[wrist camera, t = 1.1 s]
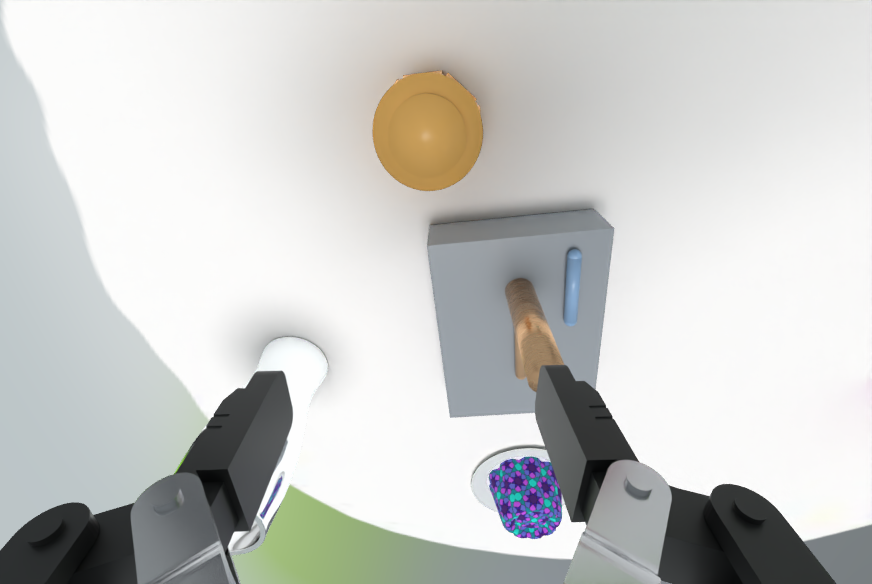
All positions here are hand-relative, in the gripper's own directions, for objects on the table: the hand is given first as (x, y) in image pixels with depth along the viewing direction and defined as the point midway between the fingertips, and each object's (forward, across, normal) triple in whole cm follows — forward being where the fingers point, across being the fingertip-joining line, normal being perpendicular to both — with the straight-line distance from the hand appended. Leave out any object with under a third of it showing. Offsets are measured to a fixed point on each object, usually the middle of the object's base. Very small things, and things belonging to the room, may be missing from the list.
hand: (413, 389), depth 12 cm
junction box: (+19, -8, +8) cm, 22 cm away
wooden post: (+15, -7, +4) cm, 17 cm away
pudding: (+20, -11, +30) cm, 38 cm away
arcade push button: (+18, -1, -7) cm, 20 cm away
